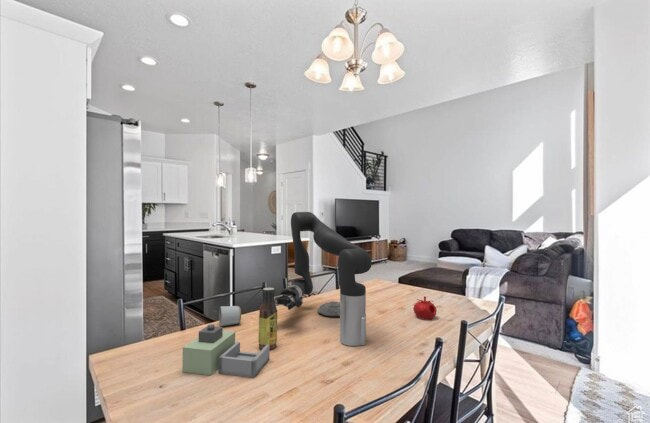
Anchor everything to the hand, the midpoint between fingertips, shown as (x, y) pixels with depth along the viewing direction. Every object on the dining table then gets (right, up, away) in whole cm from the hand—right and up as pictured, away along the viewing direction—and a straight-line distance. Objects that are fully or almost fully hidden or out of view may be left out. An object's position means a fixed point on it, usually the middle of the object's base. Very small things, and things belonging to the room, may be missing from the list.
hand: (277, 306), depth 114 cm
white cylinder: (-23, -11, +13) cm, 28 cm away
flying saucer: (+22, -12, +27) cm, 37 cm away
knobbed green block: (-11, -11, -22) cm, 27 cm away
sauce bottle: (-2, -11, -10) cm, 15 cm away
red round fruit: (+63, -12, +22) cm, 67 cm away
